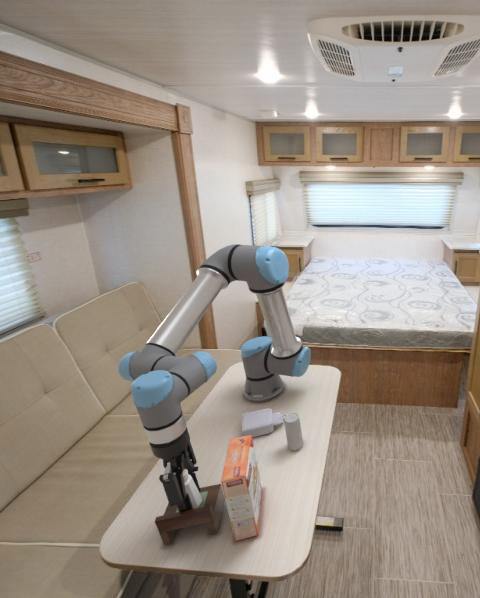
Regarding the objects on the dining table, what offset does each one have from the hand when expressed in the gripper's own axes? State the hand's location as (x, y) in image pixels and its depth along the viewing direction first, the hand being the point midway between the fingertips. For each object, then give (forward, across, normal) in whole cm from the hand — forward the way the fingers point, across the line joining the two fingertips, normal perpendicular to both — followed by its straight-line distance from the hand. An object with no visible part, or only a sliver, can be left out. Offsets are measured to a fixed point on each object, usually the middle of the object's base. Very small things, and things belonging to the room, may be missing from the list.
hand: (191, 503), depth 88 cm
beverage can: (+7, -20, +25) cm, 33 cm away
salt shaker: (+1, 0, 0) cm, 1 cm away
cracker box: (+7, +2, +14) cm, 15 cm away
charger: (+7, -32, +15) cm, 36 cm away
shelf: (+7, 0, 0) cm, 7 cm away
